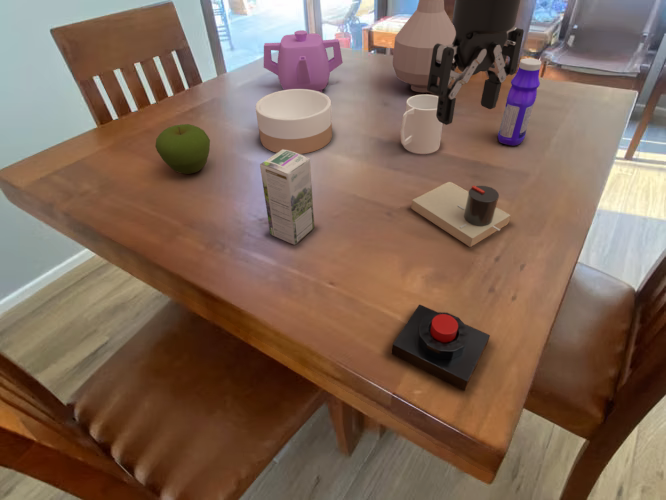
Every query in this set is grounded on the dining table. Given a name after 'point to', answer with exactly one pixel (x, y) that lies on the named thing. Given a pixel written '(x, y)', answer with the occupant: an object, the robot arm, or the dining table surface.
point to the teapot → (303, 60)
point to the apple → (184, 148)
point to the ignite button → (444, 328)
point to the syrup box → (288, 195)
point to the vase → (421, 43)
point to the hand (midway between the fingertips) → (466, 114)
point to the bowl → (294, 120)
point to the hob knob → (481, 205)
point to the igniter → (440, 348)
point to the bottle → (520, 102)
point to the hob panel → (455, 213)
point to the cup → (421, 125)
